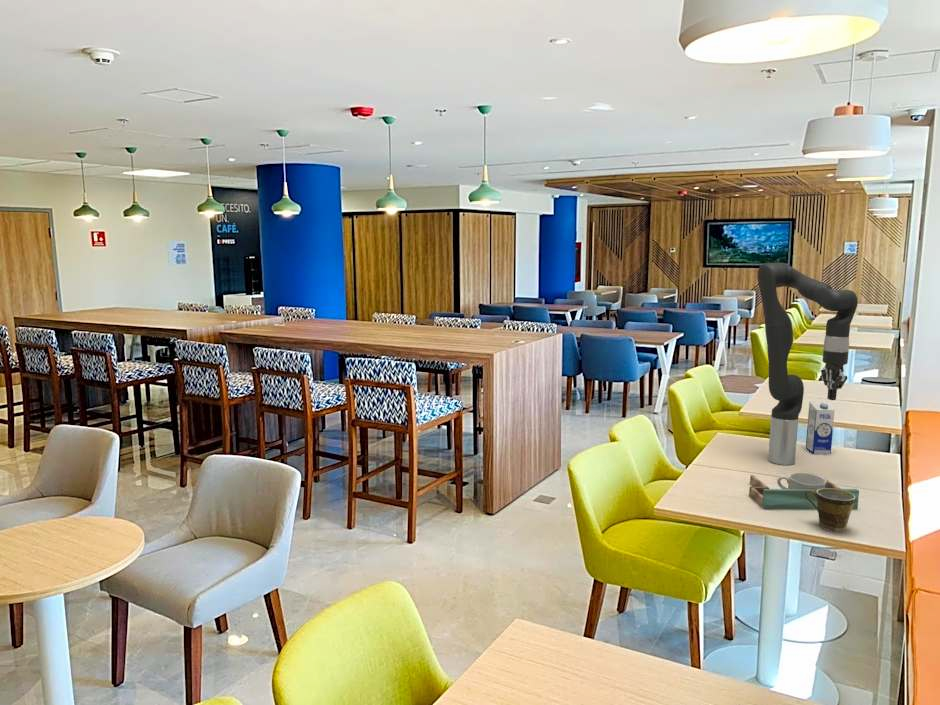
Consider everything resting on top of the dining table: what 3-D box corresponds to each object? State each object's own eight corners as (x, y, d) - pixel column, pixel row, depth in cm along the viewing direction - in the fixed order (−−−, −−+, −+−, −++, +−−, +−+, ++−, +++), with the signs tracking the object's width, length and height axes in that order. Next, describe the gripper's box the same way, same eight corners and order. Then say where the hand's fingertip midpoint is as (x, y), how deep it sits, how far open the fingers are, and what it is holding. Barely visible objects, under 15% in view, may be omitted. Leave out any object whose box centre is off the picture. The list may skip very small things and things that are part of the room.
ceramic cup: (856, 526, 199) (859, 493, 197) (847, 537, 191) (850, 503, 190) (808, 514, 207) (810, 483, 206) (798, 524, 200) (800, 491, 198)
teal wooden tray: (735, 483, 234) (736, 466, 233) (819, 483, 234) (821, 467, 234) (764, 509, 212) (765, 490, 211) (857, 509, 212) (859, 490, 211)
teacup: (826, 499, 220) (828, 475, 219) (822, 510, 211) (824, 485, 210) (779, 491, 227) (781, 468, 226) (773, 501, 218) (775, 477, 217)
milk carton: (822, 449, 274) (827, 401, 271) (831, 454, 267) (835, 405, 264) (804, 449, 274) (808, 400, 271) (812, 454, 267) (816, 404, 264)
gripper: (814, 346, 236) (810, 395, 239) (835, 352, 223) (830, 404, 226) (836, 346, 236) (832, 395, 239) (858, 352, 223) (853, 404, 226)
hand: (831, 399), depth 232 cm, fingers closed
